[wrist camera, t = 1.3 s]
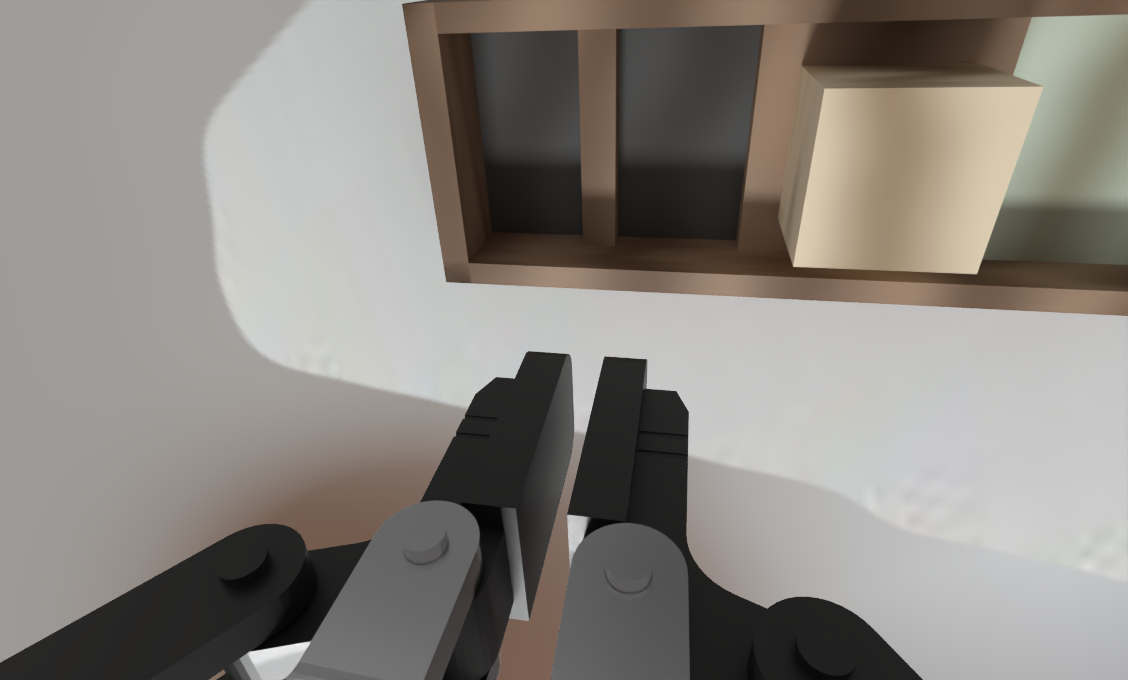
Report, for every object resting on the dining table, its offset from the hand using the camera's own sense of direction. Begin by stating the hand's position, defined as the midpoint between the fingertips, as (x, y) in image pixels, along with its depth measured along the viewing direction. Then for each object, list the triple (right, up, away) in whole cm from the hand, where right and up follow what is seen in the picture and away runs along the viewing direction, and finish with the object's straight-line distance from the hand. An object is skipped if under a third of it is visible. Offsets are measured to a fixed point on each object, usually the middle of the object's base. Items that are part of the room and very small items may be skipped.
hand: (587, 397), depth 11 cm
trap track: (+10, +10, +15) cm, 20 cm away
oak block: (+12, +9, +13) cm, 19 cm away
